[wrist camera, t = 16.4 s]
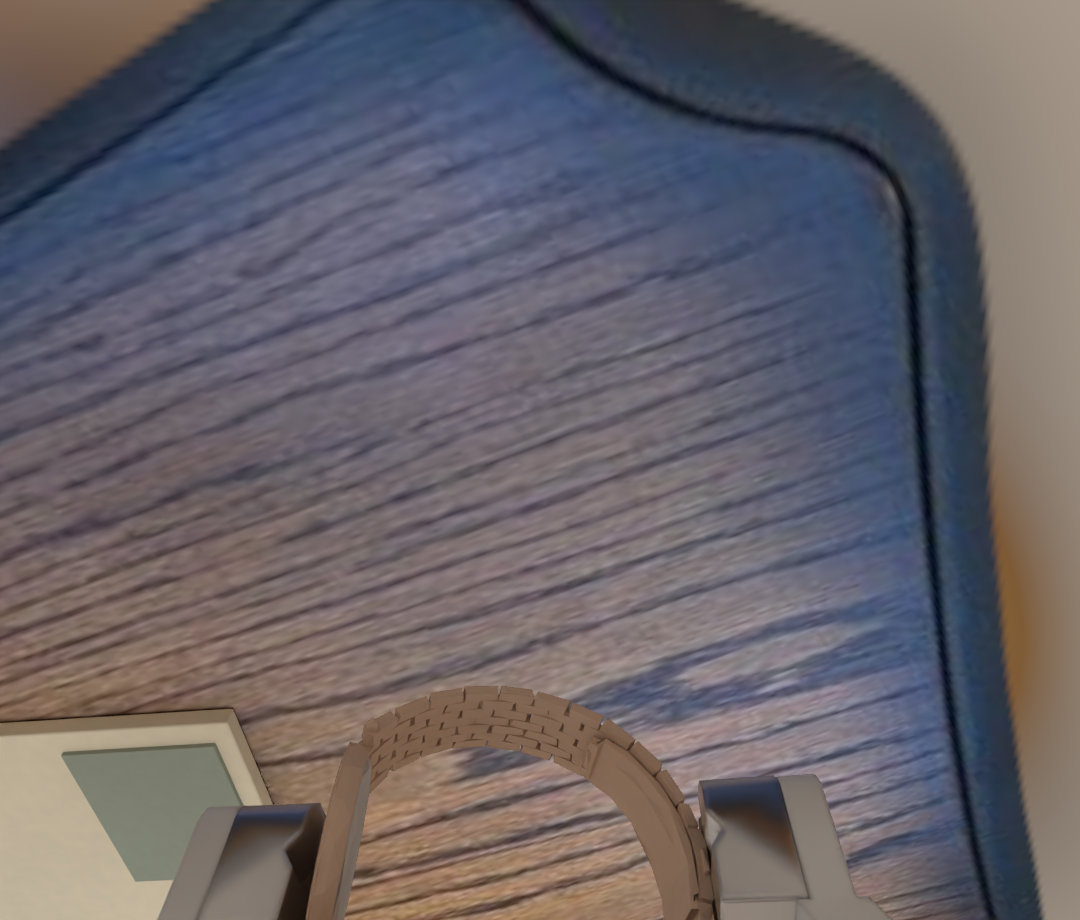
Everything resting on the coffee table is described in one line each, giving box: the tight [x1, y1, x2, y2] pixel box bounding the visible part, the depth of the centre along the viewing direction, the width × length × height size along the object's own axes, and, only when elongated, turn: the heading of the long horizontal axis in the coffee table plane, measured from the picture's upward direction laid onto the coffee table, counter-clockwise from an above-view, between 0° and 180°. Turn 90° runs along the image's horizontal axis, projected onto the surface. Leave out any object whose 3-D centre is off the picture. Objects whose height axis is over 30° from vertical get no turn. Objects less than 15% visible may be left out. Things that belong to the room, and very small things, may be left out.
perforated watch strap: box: [305, 686, 714, 920], centre depth 11 cm, size 3×5×5 cm, turn 78°
